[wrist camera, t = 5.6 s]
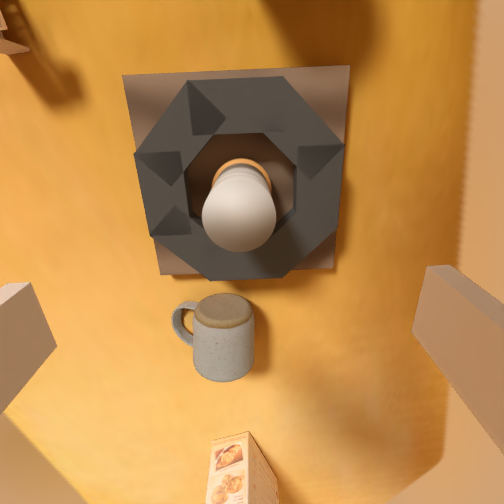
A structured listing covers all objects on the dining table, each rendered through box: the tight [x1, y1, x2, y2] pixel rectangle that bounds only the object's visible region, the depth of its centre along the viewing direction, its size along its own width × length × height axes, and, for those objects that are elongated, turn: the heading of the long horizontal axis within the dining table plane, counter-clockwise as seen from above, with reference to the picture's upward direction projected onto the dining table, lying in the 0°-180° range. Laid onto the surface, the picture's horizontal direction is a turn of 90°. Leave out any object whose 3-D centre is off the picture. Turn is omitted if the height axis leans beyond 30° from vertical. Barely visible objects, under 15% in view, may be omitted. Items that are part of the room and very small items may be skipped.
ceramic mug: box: [172, 293, 255, 382], centre depth 36 cm, size 11×8×8 cm
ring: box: [134, 76, 345, 281], centre depth 27 cm, size 18×18×2 cm
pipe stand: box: [122, 65, 350, 275], centre depth 26 cm, size 20×20×13 cm
